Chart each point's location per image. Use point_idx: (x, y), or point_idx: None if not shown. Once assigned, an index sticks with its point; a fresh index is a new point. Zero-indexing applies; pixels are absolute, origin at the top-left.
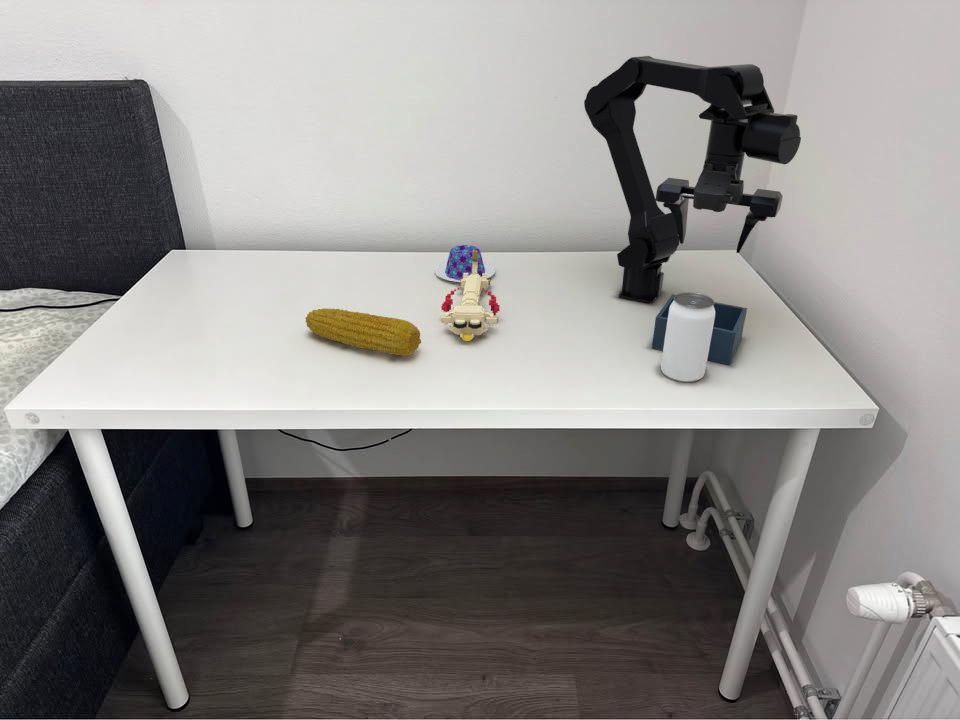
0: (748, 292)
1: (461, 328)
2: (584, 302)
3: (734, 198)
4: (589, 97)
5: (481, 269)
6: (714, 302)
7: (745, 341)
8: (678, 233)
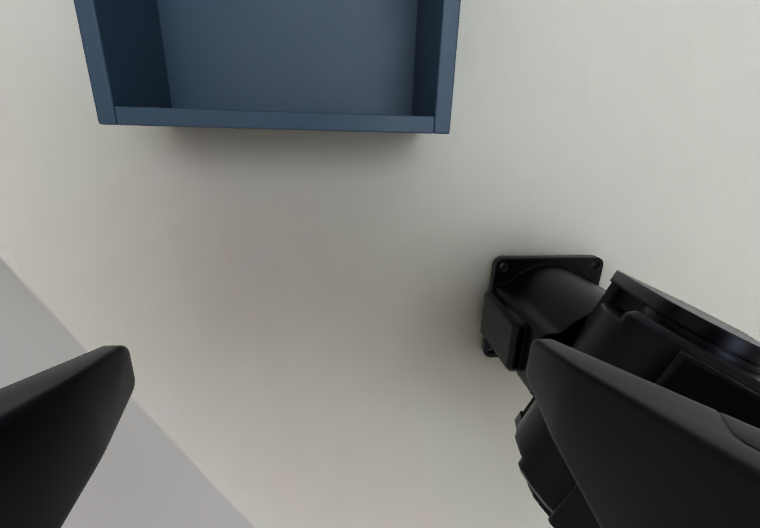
0: (251, 458)
1: None
2: (695, 175)
3: None
4: None
5: None
6: (253, 120)
7: None
8: (622, 371)
